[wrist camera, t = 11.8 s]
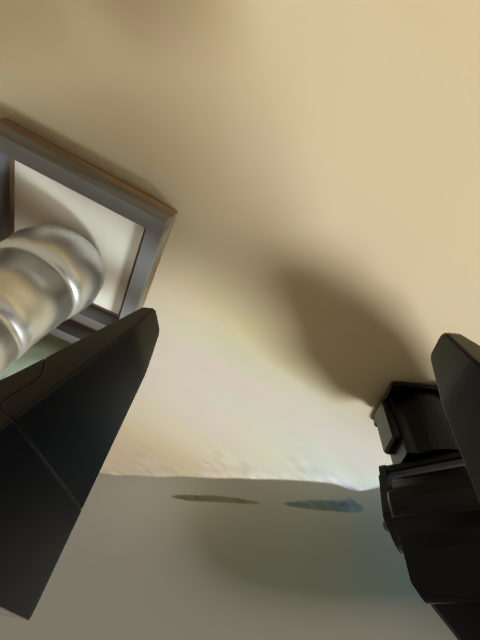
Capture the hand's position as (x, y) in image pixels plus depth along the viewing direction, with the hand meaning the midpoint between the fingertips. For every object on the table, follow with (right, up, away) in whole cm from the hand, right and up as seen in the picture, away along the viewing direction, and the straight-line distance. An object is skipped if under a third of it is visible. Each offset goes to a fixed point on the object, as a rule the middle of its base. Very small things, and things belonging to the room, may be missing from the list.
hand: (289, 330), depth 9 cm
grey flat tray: (-17, +2, +18) cm, 25 cm away
